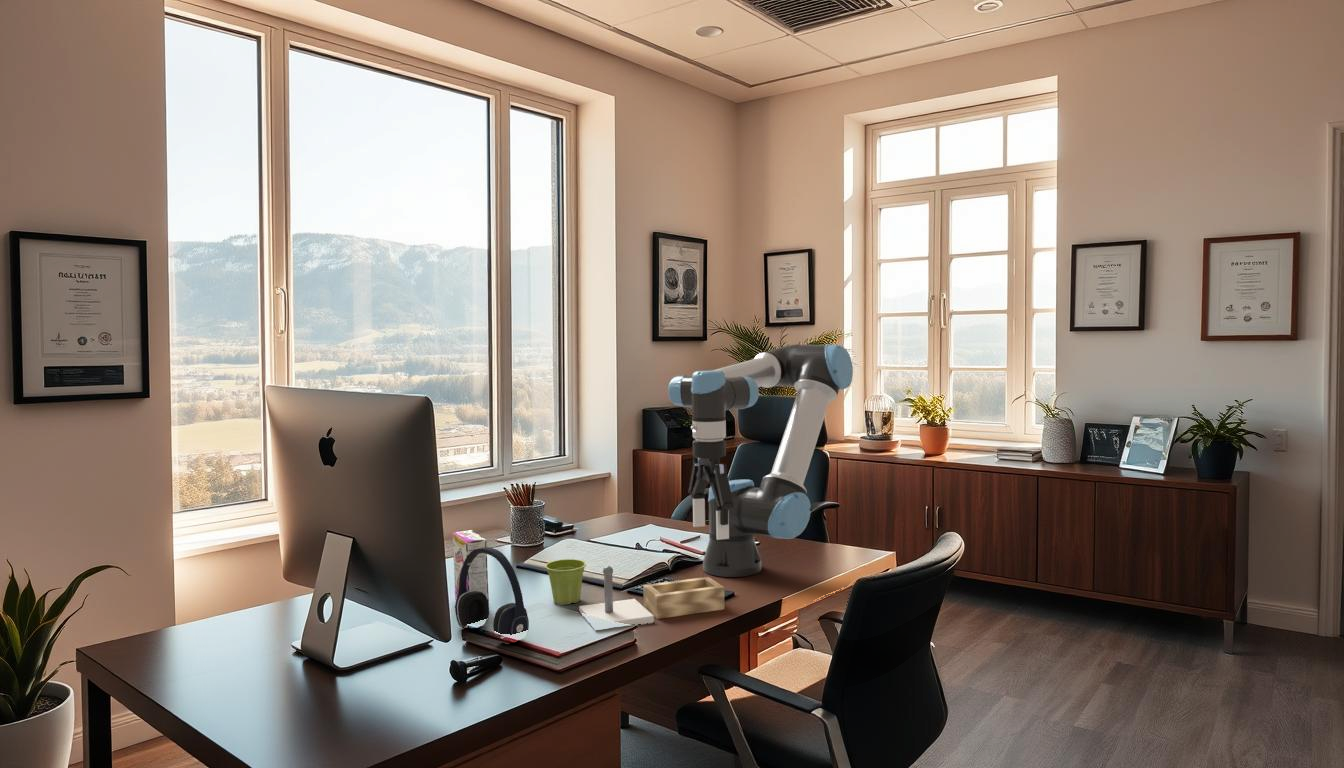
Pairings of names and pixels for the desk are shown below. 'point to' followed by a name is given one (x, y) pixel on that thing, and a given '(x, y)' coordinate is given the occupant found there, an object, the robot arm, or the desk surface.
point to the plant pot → (566, 580)
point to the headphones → (476, 604)
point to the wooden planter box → (683, 597)
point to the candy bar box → (478, 568)
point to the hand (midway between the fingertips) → (710, 532)
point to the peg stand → (617, 606)
